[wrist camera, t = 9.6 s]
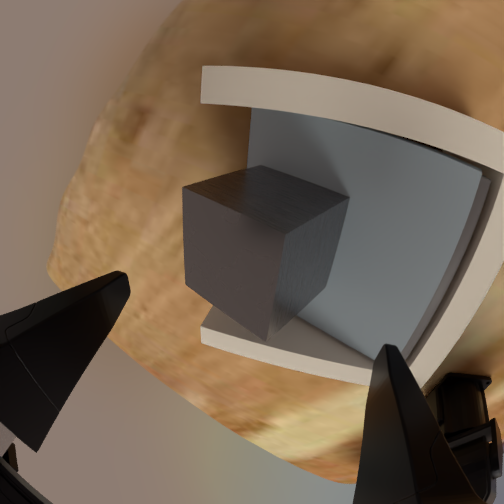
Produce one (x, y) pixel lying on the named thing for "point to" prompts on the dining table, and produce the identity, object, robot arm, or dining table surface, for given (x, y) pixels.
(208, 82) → the white step stool
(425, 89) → the dining table surface
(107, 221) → the dining table surface
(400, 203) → the trapdoor
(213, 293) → the block
